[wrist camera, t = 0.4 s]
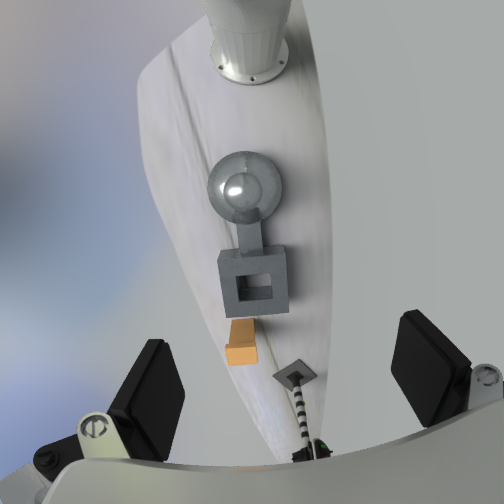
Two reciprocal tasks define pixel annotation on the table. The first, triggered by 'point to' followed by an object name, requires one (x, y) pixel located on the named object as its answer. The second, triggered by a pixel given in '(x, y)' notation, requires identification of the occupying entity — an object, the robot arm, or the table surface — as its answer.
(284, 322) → the table surface
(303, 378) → the miniature traffic light
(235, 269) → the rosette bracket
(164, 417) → the robot arm
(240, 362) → the tan flared block
